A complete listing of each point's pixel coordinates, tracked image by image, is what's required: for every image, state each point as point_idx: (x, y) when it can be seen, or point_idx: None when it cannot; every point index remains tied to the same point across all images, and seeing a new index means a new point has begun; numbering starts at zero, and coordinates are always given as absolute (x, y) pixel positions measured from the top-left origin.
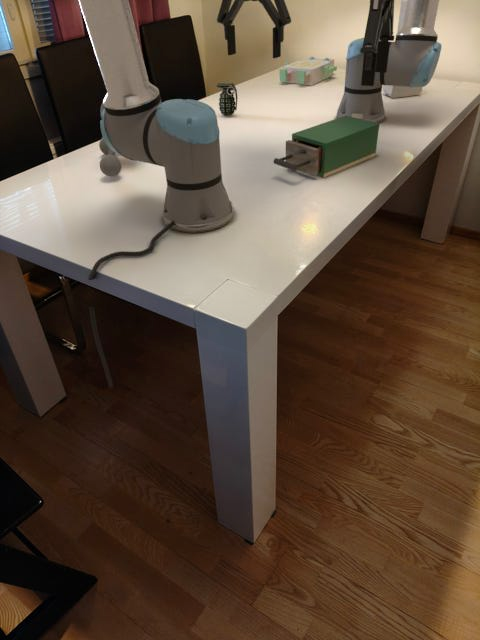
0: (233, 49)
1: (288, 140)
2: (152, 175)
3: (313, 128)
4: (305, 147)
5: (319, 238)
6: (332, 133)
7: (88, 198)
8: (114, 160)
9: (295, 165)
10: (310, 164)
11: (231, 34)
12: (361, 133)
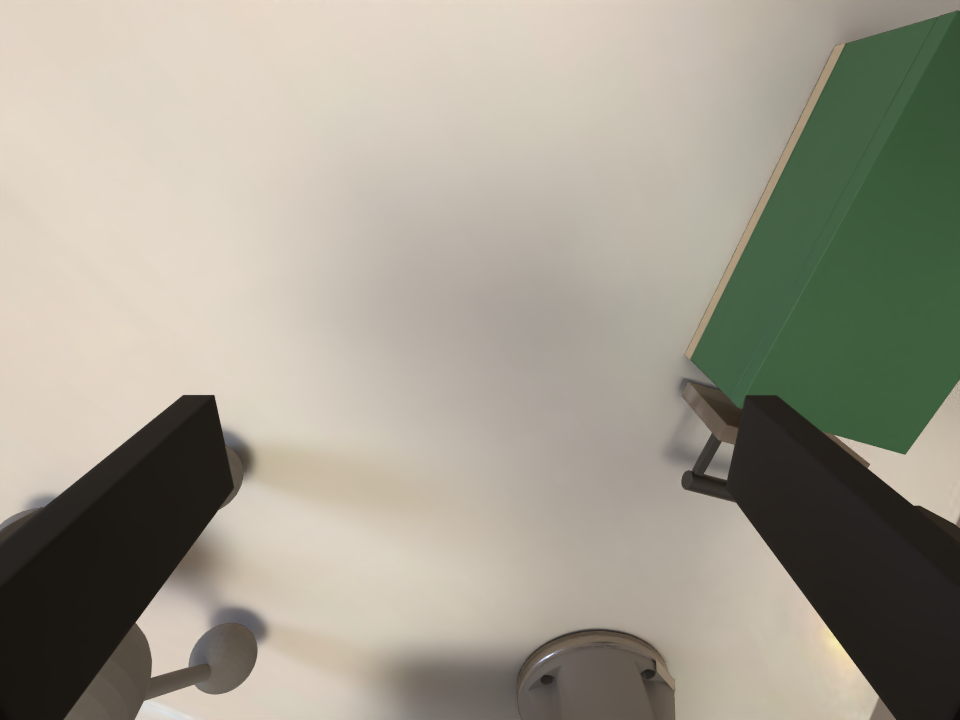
0: (199, 457)
1: (727, 431)
2: (318, 574)
3: (815, 309)
4: None
5: None
6: (917, 338)
7: (296, 709)
8: (238, 677)
9: None
10: None
11: (103, 605)
12: None
